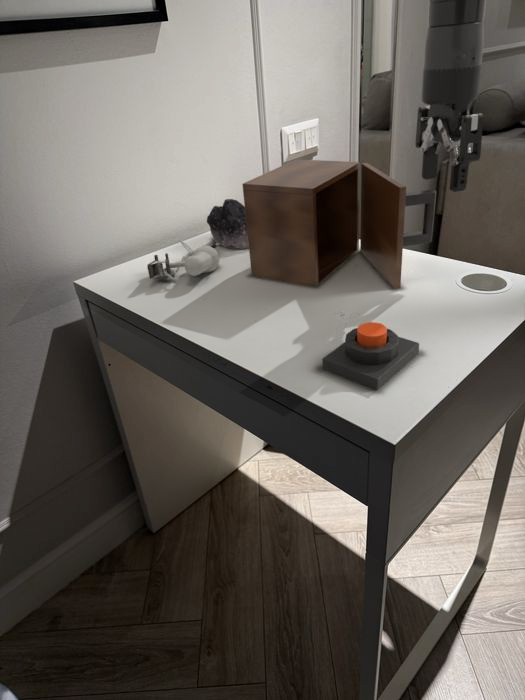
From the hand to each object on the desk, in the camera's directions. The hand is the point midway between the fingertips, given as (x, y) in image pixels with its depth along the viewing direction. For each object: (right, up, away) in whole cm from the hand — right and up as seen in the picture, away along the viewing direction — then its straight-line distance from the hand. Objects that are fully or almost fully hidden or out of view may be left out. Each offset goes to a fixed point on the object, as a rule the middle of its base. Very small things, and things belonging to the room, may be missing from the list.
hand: (442, 184), depth 79 cm
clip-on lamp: (-41, -10, +21) cm, 47 cm away
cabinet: (-19, -9, +18) cm, 28 cm away
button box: (-13, -27, -12) cm, 33 cm away
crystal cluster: (-32, -2, +34) cm, 46 cm away
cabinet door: (-4, -11, +13) cm, 17 cm away
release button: (-14, -24, -14) cm, 31 cm away
